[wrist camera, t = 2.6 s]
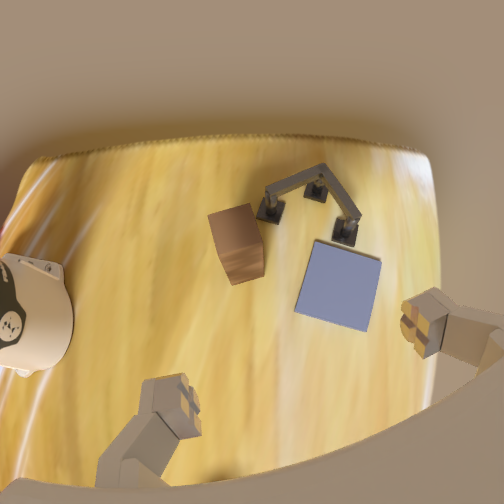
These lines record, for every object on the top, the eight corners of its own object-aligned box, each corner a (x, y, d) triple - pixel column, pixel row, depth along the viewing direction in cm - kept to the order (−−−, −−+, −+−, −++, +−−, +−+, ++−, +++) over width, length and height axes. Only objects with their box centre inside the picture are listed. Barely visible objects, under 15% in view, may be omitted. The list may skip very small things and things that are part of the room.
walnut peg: (231, 285, 36) (217, 254, 26) (223, 255, 38) (207, 215, 27) (263, 276, 36) (262, 241, 26) (254, 246, 38) (249, 202, 27)
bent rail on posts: (256, 218, 39) (254, 196, 34) (274, 170, 42) (274, 145, 36) (353, 247, 37) (366, 229, 32) (363, 196, 40) (374, 173, 34)
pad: (294, 311, 35) (294, 310, 34) (314, 243, 37) (315, 241, 37) (365, 332, 33) (366, 331, 33) (380, 263, 36) (381, 262, 36)
